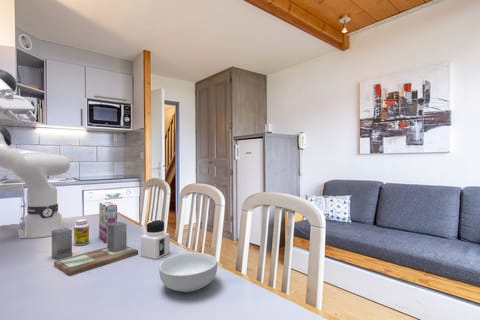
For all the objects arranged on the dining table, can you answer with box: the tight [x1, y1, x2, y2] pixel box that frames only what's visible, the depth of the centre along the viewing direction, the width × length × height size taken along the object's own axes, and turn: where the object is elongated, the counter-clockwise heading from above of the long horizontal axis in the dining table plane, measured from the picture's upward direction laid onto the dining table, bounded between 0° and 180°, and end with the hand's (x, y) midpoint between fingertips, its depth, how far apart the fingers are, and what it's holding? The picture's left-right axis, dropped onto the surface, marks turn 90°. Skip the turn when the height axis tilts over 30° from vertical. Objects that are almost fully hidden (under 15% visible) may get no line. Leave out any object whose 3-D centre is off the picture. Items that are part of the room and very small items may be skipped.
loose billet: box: [51, 227, 73, 261], centre depth 102 cm, size 5×5×10 cm
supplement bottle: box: [73, 218, 90, 246], centre depth 116 cm, size 6×6×10 cm
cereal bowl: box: [158, 252, 218, 293], centre depth 79 cm, size 17×17×7 cm
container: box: [140, 219, 171, 260], centre depth 104 cm, size 8×8×13 cm
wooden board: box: [53, 245, 139, 277], centre depth 99 cm, size 13×24×2 cm, turn 143°
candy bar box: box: [98, 201, 118, 244], centre depth 122 cm, size 11×5×16 cm, turn 42°
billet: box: [106, 221, 128, 253], centre depth 104 cm, size 5×5×10 cm
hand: (27, 121), depth 106 cm, fingers open, 8 cm apart
